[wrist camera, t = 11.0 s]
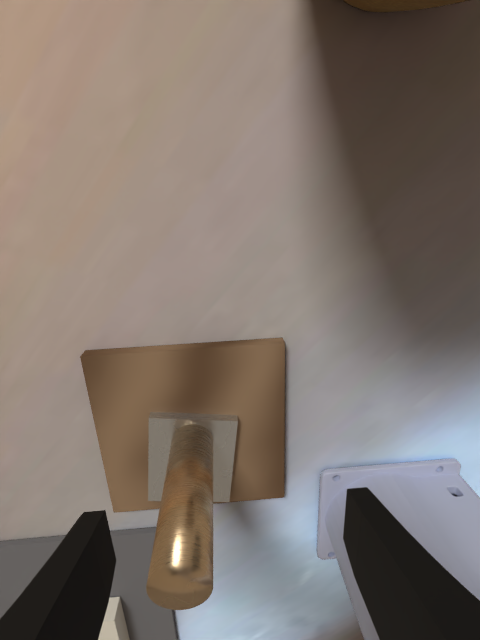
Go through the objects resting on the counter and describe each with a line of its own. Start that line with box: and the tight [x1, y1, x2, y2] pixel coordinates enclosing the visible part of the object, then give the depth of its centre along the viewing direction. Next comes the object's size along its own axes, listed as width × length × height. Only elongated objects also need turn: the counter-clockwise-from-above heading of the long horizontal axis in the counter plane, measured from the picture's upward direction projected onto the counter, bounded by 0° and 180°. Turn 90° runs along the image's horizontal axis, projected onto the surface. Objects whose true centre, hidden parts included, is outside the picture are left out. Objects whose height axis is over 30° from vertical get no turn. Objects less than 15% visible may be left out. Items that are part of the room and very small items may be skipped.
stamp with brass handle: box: [146, 412, 238, 610], centre depth 17 cm, size 6×5×9 cm
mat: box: [0, 527, 178, 640], centre depth 26 cm, size 14×18×1 cm
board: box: [80, 338, 285, 512], centre depth 21 cm, size 11×11×1 cm
